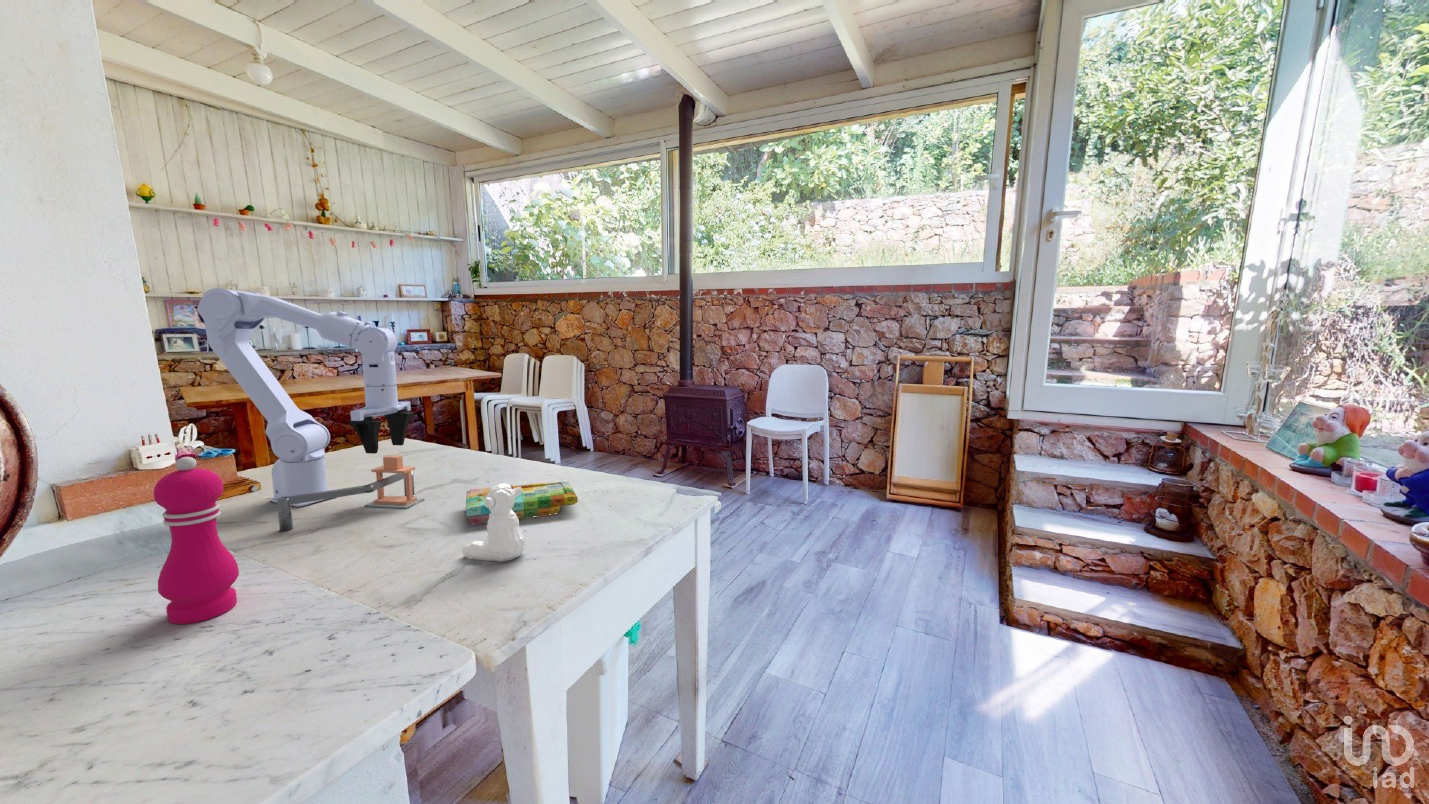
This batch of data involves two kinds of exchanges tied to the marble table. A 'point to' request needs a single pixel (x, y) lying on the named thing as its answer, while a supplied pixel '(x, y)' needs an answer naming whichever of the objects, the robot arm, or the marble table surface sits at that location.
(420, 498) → the pad
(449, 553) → the marble table surface
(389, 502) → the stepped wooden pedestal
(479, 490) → the puzzle game
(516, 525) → the sitting furry creature
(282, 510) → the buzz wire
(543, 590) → the marble table surface
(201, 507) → the pepper mill
